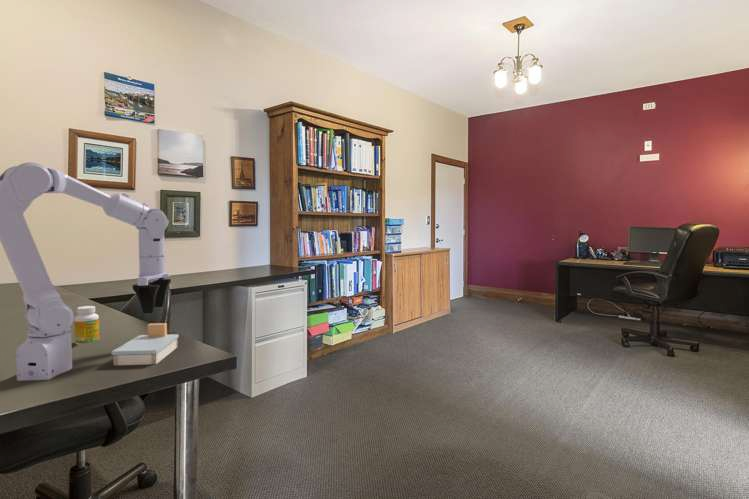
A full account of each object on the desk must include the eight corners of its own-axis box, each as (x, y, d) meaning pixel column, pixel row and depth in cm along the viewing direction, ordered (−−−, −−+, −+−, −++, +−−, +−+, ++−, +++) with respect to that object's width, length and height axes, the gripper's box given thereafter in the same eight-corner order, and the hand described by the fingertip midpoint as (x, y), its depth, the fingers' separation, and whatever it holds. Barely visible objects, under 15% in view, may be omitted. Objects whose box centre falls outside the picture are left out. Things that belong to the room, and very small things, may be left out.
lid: (156, 353, 91) (156, 336, 91) (111, 354, 90) (111, 338, 90) (178, 337, 104) (178, 322, 104) (139, 338, 103) (139, 323, 103)
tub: (156, 367, 91) (156, 354, 91) (113, 368, 90) (113, 355, 90) (177, 349, 104) (177, 338, 104) (140, 350, 103) (140, 339, 103)
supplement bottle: (86, 346, 107) (85, 309, 106) (69, 344, 108) (68, 308, 107) (104, 340, 112) (103, 305, 112) (88, 339, 113) (86, 304, 113)
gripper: (160, 258, 96) (161, 315, 97) (177, 254, 110) (178, 303, 111) (127, 258, 95) (128, 316, 95) (149, 254, 109) (150, 304, 110)
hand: (153, 309), depth 103 cm, fingers open, 7 cm apart
